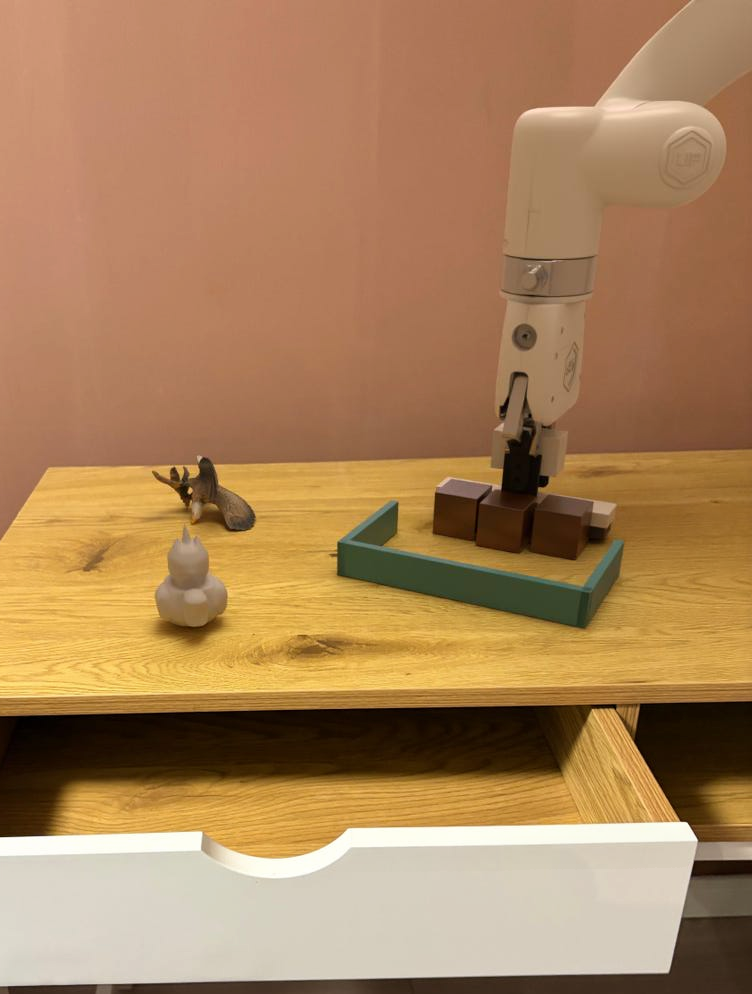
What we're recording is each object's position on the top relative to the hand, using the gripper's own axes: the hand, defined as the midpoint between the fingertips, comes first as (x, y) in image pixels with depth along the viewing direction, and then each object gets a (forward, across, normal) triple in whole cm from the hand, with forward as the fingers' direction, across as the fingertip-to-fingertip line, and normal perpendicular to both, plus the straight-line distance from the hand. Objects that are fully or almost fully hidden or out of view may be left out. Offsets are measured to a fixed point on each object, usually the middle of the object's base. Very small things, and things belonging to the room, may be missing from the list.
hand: (524, 488), depth 89 cm
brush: (+3, 0, 0) cm, 3 cm away
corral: (+4, -12, 0) cm, 12 cm away
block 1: (+4, -4, +4) cm, 7 cm away
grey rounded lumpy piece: (+4, -31, +16) cm, 35 cm away
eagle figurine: (+4, -12, +27) cm, 30 cm away
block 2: (+4, -4, 0) cm, 6 cm away
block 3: (+4, -4, -5) cm, 7 cm away
